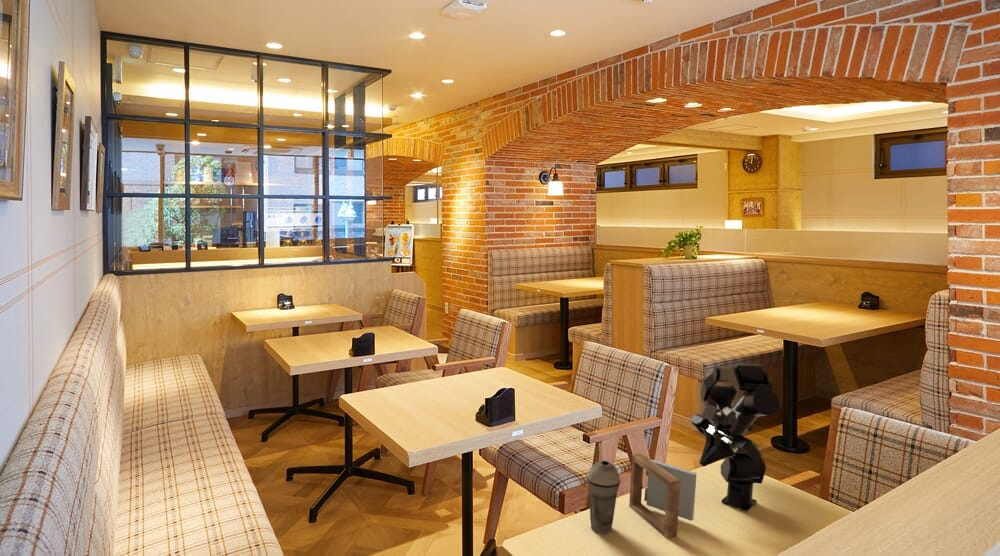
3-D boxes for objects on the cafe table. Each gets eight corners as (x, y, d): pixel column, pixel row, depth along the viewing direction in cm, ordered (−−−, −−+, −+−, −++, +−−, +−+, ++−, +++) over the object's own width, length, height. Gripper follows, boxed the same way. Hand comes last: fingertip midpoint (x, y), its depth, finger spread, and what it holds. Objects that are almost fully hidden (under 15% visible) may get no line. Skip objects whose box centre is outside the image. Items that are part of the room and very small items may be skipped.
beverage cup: (617, 539, 131) (622, 451, 129) (583, 535, 133) (587, 447, 130) (617, 522, 138) (622, 438, 136) (585, 518, 140) (589, 435, 137)
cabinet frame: (638, 504, 147) (640, 453, 145) (676, 536, 133) (680, 480, 131) (629, 506, 146) (632, 454, 144) (667, 538, 132) (670, 482, 130)
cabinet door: (647, 500, 147) (649, 457, 145) (695, 517, 139) (698, 471, 138) (643, 503, 145) (645, 459, 143) (691, 520, 138) (694, 474, 136)
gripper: (698, 381, 149) (658, 429, 146) (755, 406, 132) (710, 461, 129) (721, 409, 153) (682, 456, 150) (779, 436, 136) (737, 490, 133)
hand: (701, 464), depth 141 cm, fingers closed
